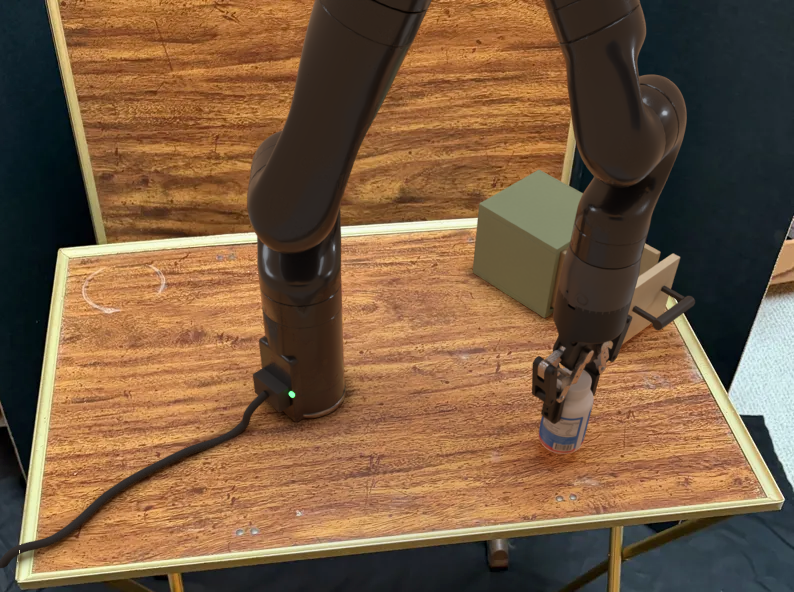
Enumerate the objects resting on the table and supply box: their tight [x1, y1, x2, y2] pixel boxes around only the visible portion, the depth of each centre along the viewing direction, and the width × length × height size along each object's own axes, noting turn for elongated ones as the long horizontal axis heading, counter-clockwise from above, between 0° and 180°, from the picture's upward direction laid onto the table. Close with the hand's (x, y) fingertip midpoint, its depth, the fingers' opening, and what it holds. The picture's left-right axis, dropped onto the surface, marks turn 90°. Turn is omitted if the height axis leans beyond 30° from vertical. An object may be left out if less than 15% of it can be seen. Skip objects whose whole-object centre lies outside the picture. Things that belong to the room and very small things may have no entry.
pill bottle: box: [538, 367, 595, 455], centre depth 112 cm, size 6×5×10 cm
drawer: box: [550, 243, 696, 348], centre depth 127 cm, size 17×11×9 cm, turn 44°
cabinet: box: [472, 169, 584, 319], centre depth 133 cm, size 14×12×11 cm
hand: (567, 405), depth 111 cm, fingers closed on pill bottle, 5 cm apart
